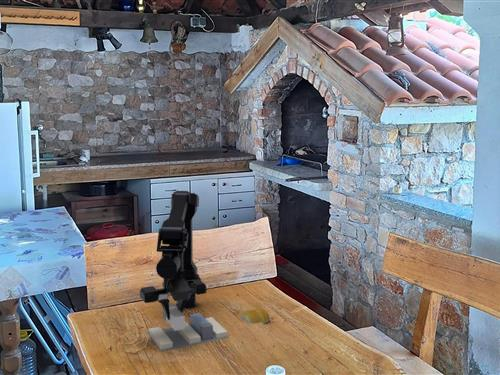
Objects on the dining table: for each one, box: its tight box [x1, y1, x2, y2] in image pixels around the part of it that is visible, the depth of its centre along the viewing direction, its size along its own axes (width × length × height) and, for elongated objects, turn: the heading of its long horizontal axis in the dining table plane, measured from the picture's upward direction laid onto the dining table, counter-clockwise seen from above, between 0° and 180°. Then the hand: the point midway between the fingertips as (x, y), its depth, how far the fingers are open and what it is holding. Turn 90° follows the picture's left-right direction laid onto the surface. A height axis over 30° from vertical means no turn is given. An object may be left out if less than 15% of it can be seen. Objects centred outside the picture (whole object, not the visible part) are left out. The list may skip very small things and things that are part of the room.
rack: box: [146, 316, 230, 353], centre depth 169 cm, size 14×21×2 cm, turn 117°
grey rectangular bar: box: [189, 312, 213, 340], centre depth 170 cm, size 10×3×4 cm, turn 27°
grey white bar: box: [162, 303, 186, 331], centre depth 166 cm, size 10×3×4 cm, turn 27°
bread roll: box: [240, 307, 270, 325], centre depth 182 cm, size 8×9×4 cm
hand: (173, 318), depth 166 cm, fingers closed on grey white bar, 3 cm apart
